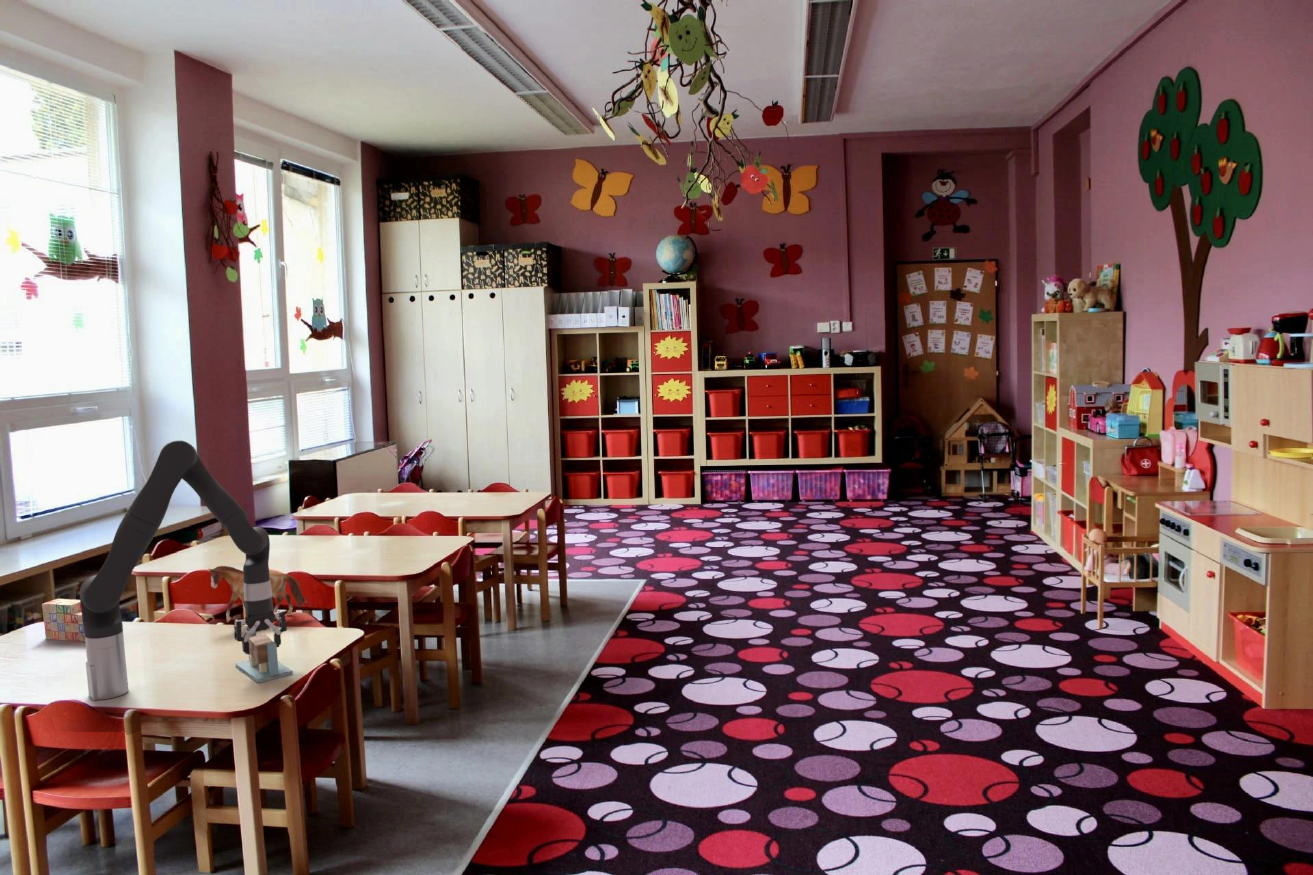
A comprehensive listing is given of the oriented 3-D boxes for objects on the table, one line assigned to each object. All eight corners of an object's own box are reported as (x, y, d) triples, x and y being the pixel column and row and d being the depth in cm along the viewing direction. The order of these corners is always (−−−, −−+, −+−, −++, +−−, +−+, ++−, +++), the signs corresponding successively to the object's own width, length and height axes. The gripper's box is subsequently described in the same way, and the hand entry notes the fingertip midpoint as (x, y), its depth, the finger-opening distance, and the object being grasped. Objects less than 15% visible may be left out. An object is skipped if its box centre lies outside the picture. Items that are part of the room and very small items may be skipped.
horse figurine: (211, 627, 332) (206, 568, 330) (216, 621, 340) (211, 563, 338) (307, 618, 340) (303, 560, 338) (310, 612, 347) (306, 555, 345)
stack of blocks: (110, 637, 325) (106, 601, 324) (94, 643, 319) (90, 606, 318) (61, 633, 332) (58, 597, 330) (44, 638, 326) (41, 602, 324)
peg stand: (257, 682, 277) (254, 648, 275) (235, 666, 291) (233, 634, 290) (292, 673, 283) (290, 640, 282) (269, 658, 297) (267, 626, 296)
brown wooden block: (249, 653, 290) (247, 637, 289) (266, 650, 293) (265, 634, 292) (258, 664, 280) (257, 647, 280) (276, 660, 283) (275, 643, 282)
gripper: (278, 589, 292) (282, 641, 294) (228, 598, 283) (232, 653, 284) (287, 593, 286) (291, 647, 288) (237, 603, 277) (241, 659, 279)
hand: (262, 650), depth 286 cm, fingers open, 8 cm apart
